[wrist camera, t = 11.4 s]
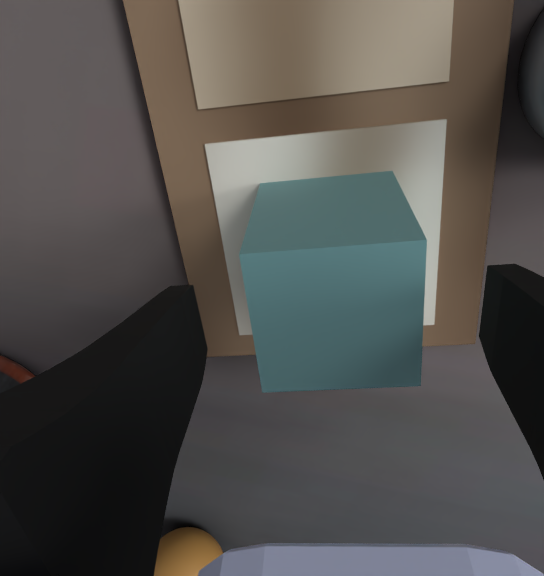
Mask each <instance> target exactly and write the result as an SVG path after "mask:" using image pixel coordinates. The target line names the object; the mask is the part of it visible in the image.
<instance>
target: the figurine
mask: <svg viewBox="0 0 544 576" xmlns="http://www.w3.org/2000/svg"><path fill="white" fill-rule="evenodd" d="M222 554H223V551H222V549H221V547H220V545H219V544H218V542H217V541H216V540H215V539H214V538H213V537H212V536H211V535H210V534H209V533H207V532H205V531H203V530H201V529H198V528H194V527H183V528H178V529H175V530H173V531H171V532H169V533H167V534H166V535H164V536H163V537H162V538H161V539H160V542H159V547H158V553H157V559H156V565H155V571H154V576H198V573H199V570H201V569H202V568H204V567H205V566H206V565H208V564H209V563H211V562H212V561H213V560H215V559H216V558H217V557H219V556H220V555H222Z"/></svg>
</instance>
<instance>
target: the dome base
mask: <svg viewBox="0 0 544 576" xmlns="http://www.w3.org/2000/svg"><path fill="white" fill-rule="evenodd" d="M518 95H519V99H520V104H521V107H522V110H523V113H524V115H525V117H526V119H527V121H528V122H529V124H530V125H531V127H532V128H533V129H534V130H535V131H536V133H537V134H539V135H540V136H541V137H542V138H543V139H544V10H543V11H542V12H541V14H540V15H539V17H538V18H537V20H536V22H535V24H534V25H533V27H532V29H531V31H530V33H529V36H528V38H527V40H526V42H525V45H524V48H523V52H522V55H521V59H520V64H519V70H518Z"/></svg>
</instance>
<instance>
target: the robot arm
mask: <svg viewBox="0 0 544 576" xmlns="http://www.w3.org/2000/svg"><path fill="white" fill-rule="evenodd" d="M479 337H480V341H481V344H482V347H483V350H484V353H485V356H486V359H487V362H488V365H489V368H490V370H491V372H492V375H493V377H494V379H495V381H496V383H497V385H498V387H499V389H500V390H501V392H502V394H503V396H504V398H505V400H506V402H507V404H508V406H509V408H510V410H511V412H512V414H513V416H514V418H515V420H516V422H517V423H518V425H519V427H520V429H521V431H522V433H523V435H524V437H525V439H526V441H527V443H528V445H529V447H530V449H531V451H532V453H533V455H534V457H535V460H536V462H537V464H538V466H539V469H540V471H541V474H542V477H543V479H544V277H542V276H540V275H538V274H536V273H534V272H532V271H530V270H528V269H526V268H524V267H521V266H519V265H516V264H505V265H490V266H487V274H486V282H485V291H484V299H483V307H482V316H481V324H480V333H479ZM207 351H208V348H207V343H206V339H205V335H204V330H203V326H202V321H201V317H200V313H199V308H198V304H197V299H196V295H195V291H194V286H193V285H182V286H170V287H168V288H167V289H165V290H164V291H162V292H161V293H159V294H158V295H157V296H155V297H154V298H153V299H151V300H150V301H149V302H148V303H146V304H145V305H144V306H142V307H141V308H140V309H139V310H137V311H136V312H135V313H133V314H132V315H131V316H129V317H128V318H127V319H126V320H124V321H123V322H122V323H120V324H119V325H118V326H116V327H115V328H113V329H112V330H111V331H109V332H108V333H106V334H105V335H103V336H102V337H101V338H99V339H98V340H96V341H95V342H94V343H92V344H91V345H89V346H88V347H86V348H85V349H83V350H82V351H80V352H78V353H77V354H75V355H73V356H72V357H70V358H68V359H67V360H65V361H63V362H61V363H60V364H58V365H56V366H54V367H53V368H51V369H49V370H47V371H45V372H43V373H41V374H39V375H37V376H35V377H33V378H31V379H29V380H27V381H25V382H23V383H21V384H19V385H17V386H15V387H13V388H11V389H9V390H6V391H4V392H2V393H0V576H154V571H155V565H156V559H157V553H158V547H159V542H160V536H161V531H162V526H163V520H164V515H165V510H166V505H167V500H168V496H169V491H170V486H171V481H172V477H173V472H174V468H175V465H176V461H177V458H178V454H179V451H180V448H181V445H182V442H183V439H184V436H185V433H186V430H187V427H188V424H189V421H190V418H191V415H192V412H193V409H194V406H195V403H196V400H197V397H198V394H199V390H200V387H201V384H202V380H203V375H204V370H205V364H206V357H207ZM198 576H544V574H543V573H541V572H540V571H538V570H536V569H535V568H533V567H532V566H530V565H529V564H527V563H526V562H524V561H523V560H521V559H519V558H518V557H516V556H515V555H513V554H511V553H509V552H507V551H504V550H498V549H492V548H486V547H480V546H473V545H467V544H365V543H265V544H259V545H252V546H246V547H240V548H234V549H230V550H228V551H226V552H225V553H223V554H222V555H220V556H219V557H217V558H216V559H215V560H213V561H212V562H211V563H209V564H208V565H206V566H205V567H204V568H202V569H201V570H199V573H198Z"/></svg>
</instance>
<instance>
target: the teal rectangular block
mask: <svg viewBox="0 0 544 576" xmlns="http://www.w3.org/2000/svg"><path fill="white" fill-rule="evenodd" d="M426 251H427V239H426V237H425V235H424V233H423V231H422V229H421V227H420V225H419V223H418V221H417V219H416V217H415V215H414V213H413V211H412V209H411V207H410V205H409V203H408V201H407V199H406V197H405V195H404V193H403V191H402V189H401V187H400V185H399V183H398V181H397V179H396V177H395V175H394V173H393V171H384V172H373V173H363V174H352V175H342V176H331V177H321V178H310V179H299V180H289V181H278V182H268V183H260V186H259V189H258V192H257V196H256V199H255V202H254V206H253V209H252V212H251V216H250V219H249V222H248V226H247V229H246V232H245V236H244V239H243V242H242V246H241V249H240V253H239V257H240V263H241V269H242V275H243V281H244V287H245V293H246V299H247V305H248V311H249V316H250V322H251V328H252V334H253V340H254V346H255V352H256V358H257V364H258V369H259V375H260V381H261V387H262V393H263V392H287V391H312V390H336V389H360V388H384V387H409V386H421V366H422V343H423V320H424V297H425V274H426Z"/></svg>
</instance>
